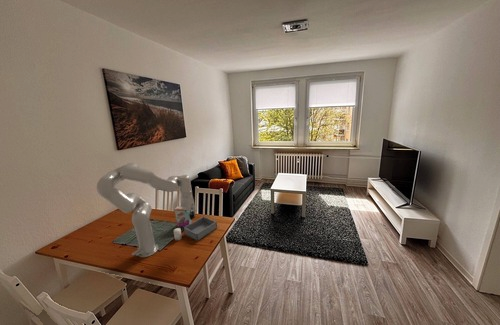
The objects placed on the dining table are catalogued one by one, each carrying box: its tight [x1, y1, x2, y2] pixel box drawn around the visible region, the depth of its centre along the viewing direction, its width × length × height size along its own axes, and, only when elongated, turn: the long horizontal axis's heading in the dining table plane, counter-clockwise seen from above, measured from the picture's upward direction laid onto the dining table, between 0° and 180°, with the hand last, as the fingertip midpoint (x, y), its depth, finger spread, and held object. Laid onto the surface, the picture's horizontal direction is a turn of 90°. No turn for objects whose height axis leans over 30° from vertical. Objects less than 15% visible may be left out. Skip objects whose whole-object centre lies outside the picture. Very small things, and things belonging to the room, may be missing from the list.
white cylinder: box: [173, 227, 183, 241], centre depth 146 cm, size 5×5×7 cm
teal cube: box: [184, 210, 196, 221], centre depth 137 cm, size 5×5×5 cm
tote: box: [183, 216, 218, 242], centre depth 154 cm, size 20×16×6 cm
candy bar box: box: [173, 205, 193, 228], centre depth 161 cm, size 11×5×16 cm, turn 84°
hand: (190, 217), depth 137 cm, fingers closed on teal cube, 5 cm apart
